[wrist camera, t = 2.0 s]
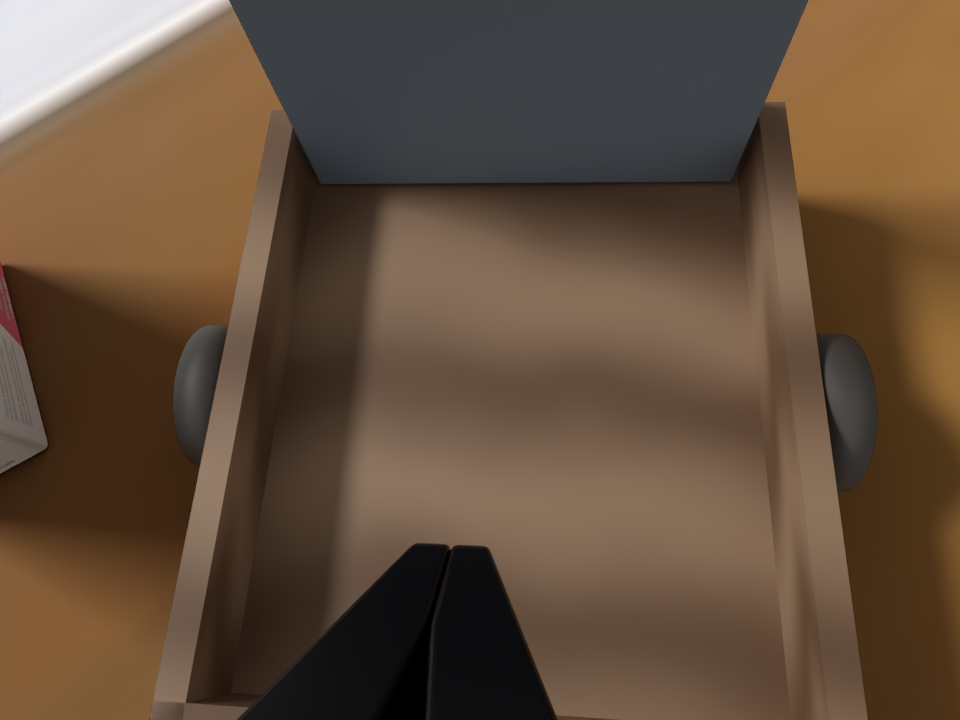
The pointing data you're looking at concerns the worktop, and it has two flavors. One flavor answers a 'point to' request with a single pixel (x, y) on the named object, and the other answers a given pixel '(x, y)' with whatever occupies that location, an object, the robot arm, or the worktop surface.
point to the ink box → (16, 393)
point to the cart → (530, 435)
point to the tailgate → (521, 86)
